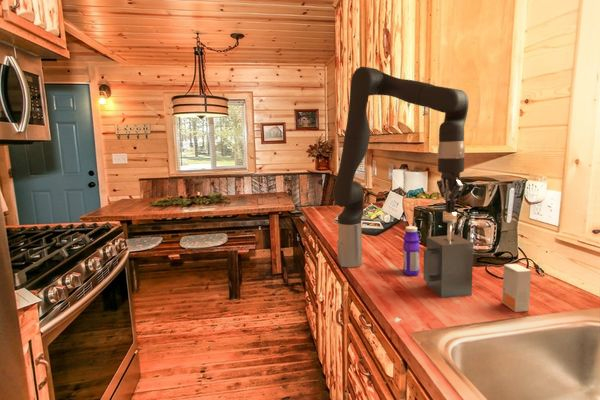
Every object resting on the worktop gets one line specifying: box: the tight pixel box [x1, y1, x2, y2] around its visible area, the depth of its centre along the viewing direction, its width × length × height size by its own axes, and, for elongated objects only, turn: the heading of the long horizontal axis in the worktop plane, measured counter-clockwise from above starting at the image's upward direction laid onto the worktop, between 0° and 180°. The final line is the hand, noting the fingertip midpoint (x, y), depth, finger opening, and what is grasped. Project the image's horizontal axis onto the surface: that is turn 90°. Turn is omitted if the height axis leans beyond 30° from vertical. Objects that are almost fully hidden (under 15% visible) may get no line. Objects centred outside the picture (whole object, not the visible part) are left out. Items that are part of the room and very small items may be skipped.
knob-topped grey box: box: [422, 234, 474, 299], centre depth 115 cm, size 13×10×17 cm
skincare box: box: [501, 263, 532, 313], centre depth 102 cm, size 6×4×12 cm
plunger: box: [442, 210, 458, 241], centre depth 114 cm, size 8×8×19 cm
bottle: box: [402, 225, 420, 277], centre depth 131 cm, size 7×6×17 cm
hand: (449, 212), depth 112 cm, fingers closed
